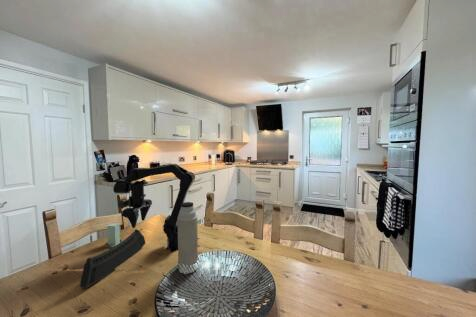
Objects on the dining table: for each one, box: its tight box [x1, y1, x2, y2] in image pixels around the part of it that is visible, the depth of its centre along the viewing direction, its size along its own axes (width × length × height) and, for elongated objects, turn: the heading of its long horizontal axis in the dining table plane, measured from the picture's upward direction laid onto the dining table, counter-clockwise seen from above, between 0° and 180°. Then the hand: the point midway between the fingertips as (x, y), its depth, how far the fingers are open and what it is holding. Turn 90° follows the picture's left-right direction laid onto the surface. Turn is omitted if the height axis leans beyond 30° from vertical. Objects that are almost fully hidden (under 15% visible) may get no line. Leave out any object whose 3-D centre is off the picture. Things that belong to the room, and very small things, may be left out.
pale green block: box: [106, 222, 121, 246], centre depth 102 cm, size 4×4×11 cm
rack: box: [101, 238, 124, 249], centre depth 102 cm, size 6×8×2 cm
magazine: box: [79, 228, 146, 289], centre depth 85 cm, size 17×3×30 cm
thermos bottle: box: [177, 201, 199, 266], centre depth 83 cm, size 8×8×28 cm
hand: (138, 224), depth 100 cm, fingers open, 9 cm apart
